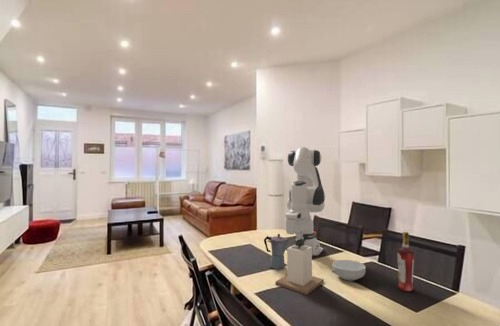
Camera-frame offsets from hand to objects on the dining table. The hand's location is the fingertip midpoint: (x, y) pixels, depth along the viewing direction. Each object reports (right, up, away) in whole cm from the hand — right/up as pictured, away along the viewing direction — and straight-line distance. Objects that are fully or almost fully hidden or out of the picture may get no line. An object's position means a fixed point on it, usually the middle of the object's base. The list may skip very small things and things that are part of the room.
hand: (299, 239), depth 148 cm
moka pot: (-10, -23, +23) cm, 34 cm away
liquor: (+51, -23, -8) cm, 56 cm away
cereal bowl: (+28, -23, +7) cm, 37 cm away
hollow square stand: (0, -23, 0) cm, 23 cm away
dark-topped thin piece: (0, -17, 0) cm, 17 cm away
